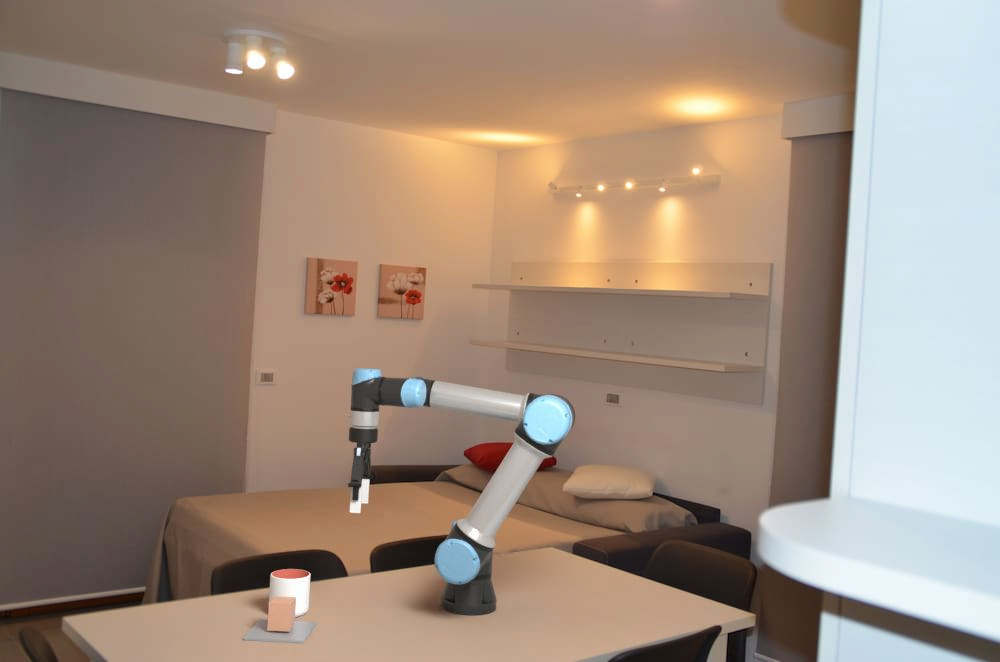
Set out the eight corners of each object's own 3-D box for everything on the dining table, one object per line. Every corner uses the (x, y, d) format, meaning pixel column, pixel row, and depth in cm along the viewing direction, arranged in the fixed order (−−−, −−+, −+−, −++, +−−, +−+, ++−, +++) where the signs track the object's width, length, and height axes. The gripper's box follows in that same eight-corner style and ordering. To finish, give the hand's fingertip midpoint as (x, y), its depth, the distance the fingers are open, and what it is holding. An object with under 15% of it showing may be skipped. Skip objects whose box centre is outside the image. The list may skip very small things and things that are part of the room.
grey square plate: (316, 624, 214) (318, 595, 214) (304, 643, 200) (305, 612, 200) (259, 621, 214) (261, 592, 214) (243, 640, 200) (245, 609, 200)
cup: (298, 621, 216) (300, 580, 216) (261, 616, 218) (263, 576, 218) (314, 609, 226) (316, 571, 226) (278, 605, 228) (281, 567, 228)
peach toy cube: (294, 624, 210) (296, 597, 210) (289, 631, 205) (291, 603, 205) (272, 623, 210) (274, 596, 210) (267, 630, 205) (269, 602, 205)
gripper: (356, 422, 241) (352, 498, 240) (341, 430, 216) (336, 516, 215) (383, 423, 241) (379, 500, 240) (371, 432, 216) (366, 517, 215)
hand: (359, 507), depth 228 cm, fingers open, 13 cm apart
